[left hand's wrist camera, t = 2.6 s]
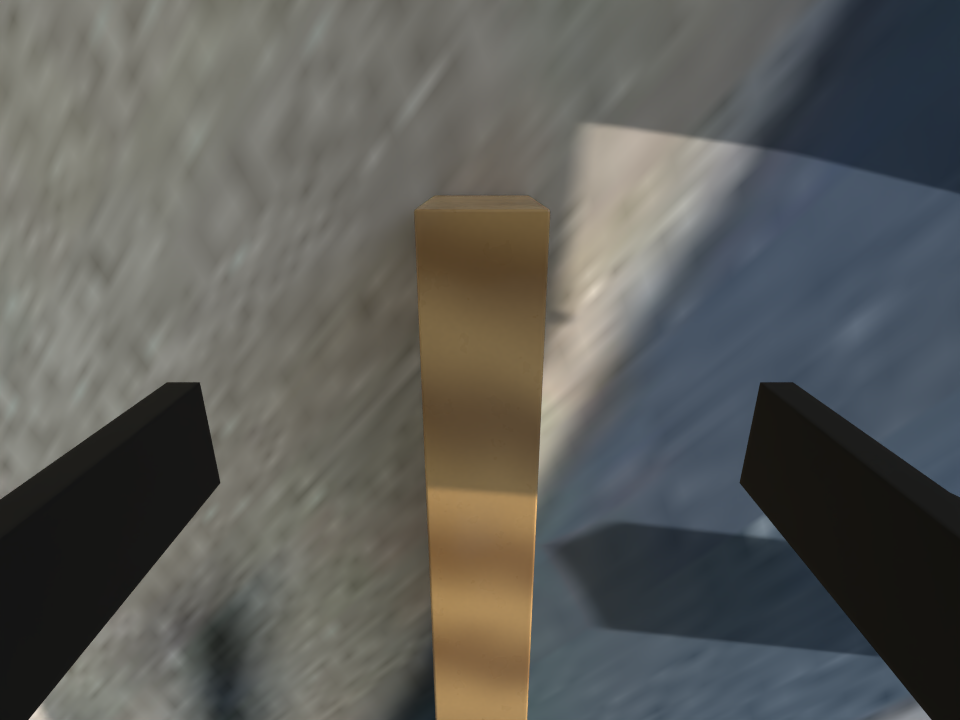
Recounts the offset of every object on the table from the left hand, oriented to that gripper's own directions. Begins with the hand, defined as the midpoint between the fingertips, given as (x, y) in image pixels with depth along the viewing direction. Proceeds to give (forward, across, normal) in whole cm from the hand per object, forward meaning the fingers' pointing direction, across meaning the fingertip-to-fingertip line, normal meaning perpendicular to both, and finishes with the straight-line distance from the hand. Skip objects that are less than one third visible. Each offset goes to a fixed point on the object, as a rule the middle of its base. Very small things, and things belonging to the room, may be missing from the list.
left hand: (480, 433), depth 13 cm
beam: (+15, 0, -36) cm, 39 cm away
